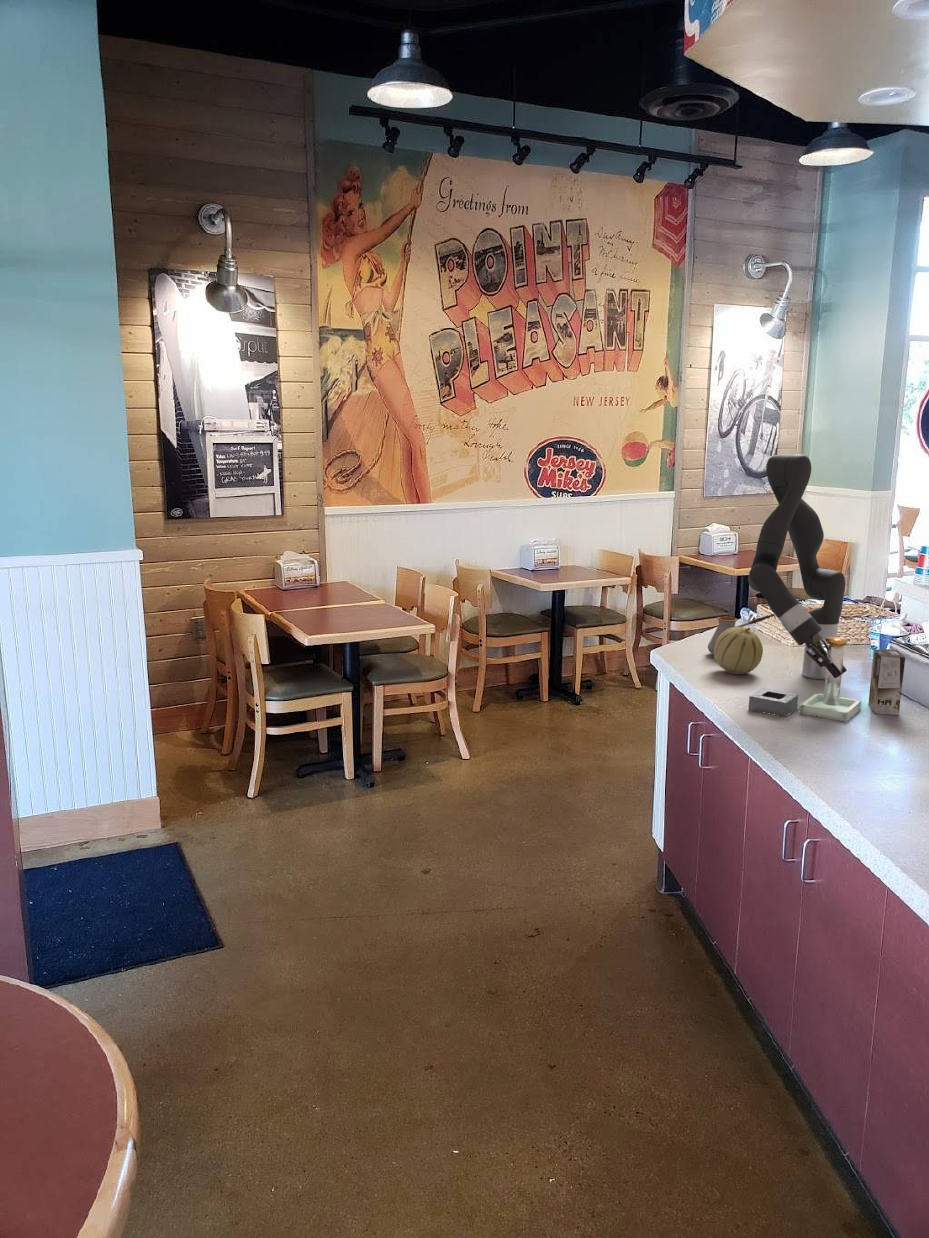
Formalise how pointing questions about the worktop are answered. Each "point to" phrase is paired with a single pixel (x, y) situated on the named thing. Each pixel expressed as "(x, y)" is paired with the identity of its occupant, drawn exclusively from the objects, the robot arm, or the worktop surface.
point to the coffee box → (886, 681)
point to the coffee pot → (729, 623)
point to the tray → (830, 708)
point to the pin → (831, 683)
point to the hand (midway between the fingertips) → (841, 674)
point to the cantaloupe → (738, 650)
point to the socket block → (773, 702)
